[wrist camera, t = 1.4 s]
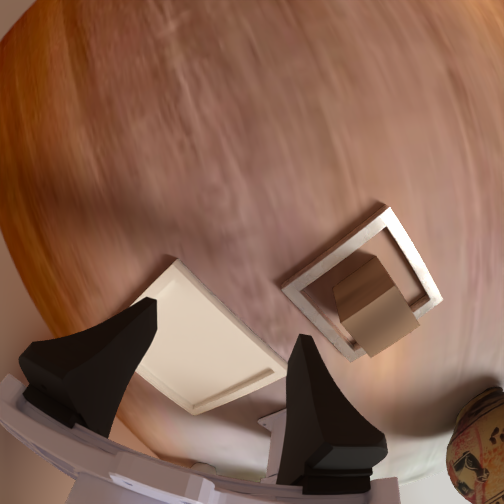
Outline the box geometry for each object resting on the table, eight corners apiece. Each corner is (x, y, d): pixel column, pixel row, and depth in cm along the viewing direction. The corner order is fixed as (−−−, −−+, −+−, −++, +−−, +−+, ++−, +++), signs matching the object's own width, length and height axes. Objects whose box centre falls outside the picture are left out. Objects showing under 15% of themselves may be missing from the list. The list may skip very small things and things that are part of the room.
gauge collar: (438, 294, 21) (442, 300, 20) (349, 355, 25) (350, 362, 24) (385, 204, 19) (389, 207, 18) (281, 283, 23) (281, 289, 22)
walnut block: (400, 292, 22) (420, 325, 17) (359, 320, 23) (370, 357, 19) (375, 255, 21) (395, 285, 16) (332, 287, 23) (340, 323, 18)
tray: (290, 365, 26) (289, 373, 25) (196, 408, 31) (193, 415, 30) (177, 258, 23) (172, 264, 22) (104, 332, 29) (99, 338, 27)
